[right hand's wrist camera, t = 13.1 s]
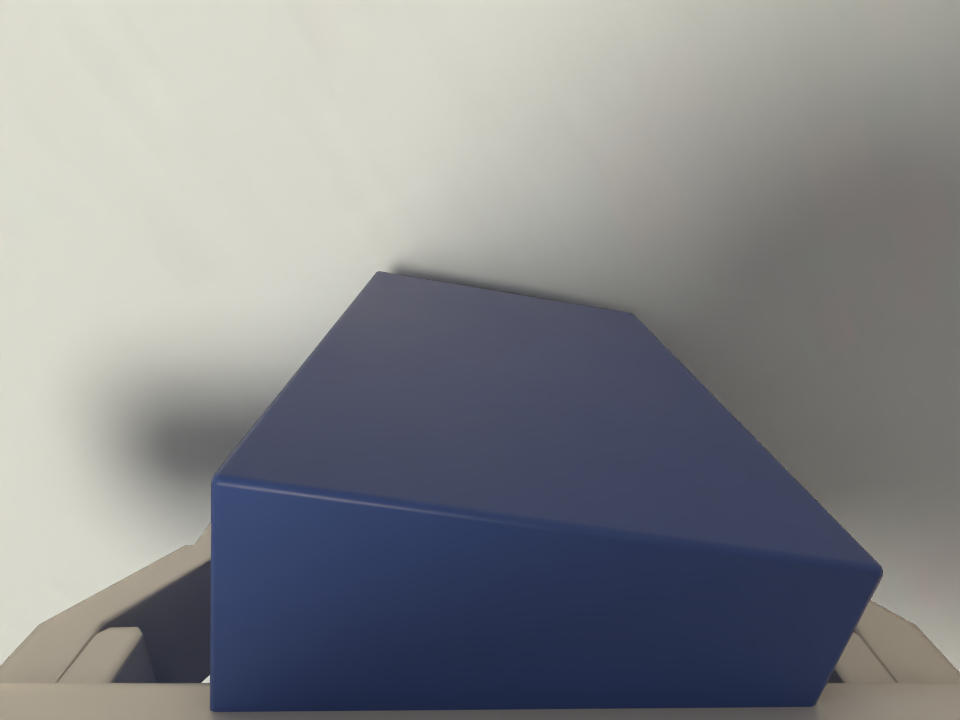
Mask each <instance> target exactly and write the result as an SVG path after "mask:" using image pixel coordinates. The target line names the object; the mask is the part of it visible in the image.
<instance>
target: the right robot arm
mask: <svg viewBox="0 0 960 720" xmlns="http://www.w3.org/2000/svg"><path fill="white" fill-rule="evenodd" d="M210 615H211V523H210V524H209V525H208V527H207V528H206V530H205V531H204V532H203V534H202V535H201V536H200V538H199V539H198V540H197V542H196V543H195V545H185V546H183V547H181V548H180V549H178V550H176V551H174V552H172V553H170V554H169V555H167V556H165V557H163V558H161V559H159V560H157V561H156V562H154V563H152V564H150V565H148V566H146V567H145V568H143V569H141V570H139V571H137V572H135V573H133V574H132V575H130V576H128V577H126V578H124V579H122V580H121V581H119V582H117V583H115V584H113V585H111V586H109V587H108V588H106V589H104V590H102V591H100V592H98V593H97V594H95V595H93V596H91V597H89V598H87V599H85V600H84V601H82V602H80V603H78V604H76V605H74V606H73V607H71V608H69V609H67V610H65V611H63V612H62V613H60V614H58V615H56V616H54V617H52V618H50V619H49V620H47V621H45V622H43V623H41V624H39V625H38V626H37V627H36V628H35V629H34V631H33V632H32V633H31V634H30V635H29V636H28V637H27V638H26V639H25V640H24V641H23V642H22V643H21V644H20V646H19V647H18V648H17V649H16V650H15V651H14V652H13V653H12V654H11V655H10V656H9V657H8V658H7V659H6V661H5V662H4V663H3V664H2V665H1V666H0V720H960V673H959V672H958V670H957V669H956V668H955V667H954V666H953V665H952V664H951V663H950V662H949V661H948V660H947V658H946V657H945V656H944V655H943V654H942V653H941V652H940V651H939V650H938V649H937V648H936V646H935V645H934V644H933V643H932V642H931V641H930V640H929V639H928V638H927V637H926V635H925V634H924V633H923V632H922V631H921V630H920V629H919V628H918V627H917V626H916V625H914V624H913V623H911V622H909V621H907V620H905V619H903V618H902V617H900V616H898V615H896V614H894V613H892V612H891V611H889V610H887V609H885V608H883V607H882V606H880V605H878V604H876V603H874V602H872V601H871V600H870V601H869V603H868V605H867V607H866V609H865V611H864V613H863V615H862V617H861V618H860V620H859V622H858V624H857V626H856V628H855V630H854V632H853V634H852V636H851V638H850V640H849V642H848V643H847V645H846V647H845V649H844V651H843V653H842V655H841V657H840V659H839V661H838V663H837V665H836V667H835V668H834V670H833V672H832V674H831V676H830V678H829V680H828V682H827V684H826V686H825V688H824V690H823V691H822V693H821V695H820V697H819V699H818V701H817V703H816V705H814V706H812V707H743V708H627V709H511V710H395V711H279V712H213V711H211V710H210V683H201V682H202V681H203V680H204V679H206V678H207V677H208V676H209V675H210Z"/></svg>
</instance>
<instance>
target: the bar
mask: <svg viewBox="0 0 960 720" xmlns="http://www.w3.org/2000/svg"><path fill="white" fill-rule="evenodd" d="M882 576H883V570H882V567H881V566H880V565H879V564H878V563H877V562H876V561H875V560H874V559H873V558H872V557H871V556H870V555H869V554H868V553H867V551H866V550H865V549H864V548H863V547H862V546H861V545H860V544H859V543H858V542H857V541H856V540H855V539H854V538H853V537H852V536H851V535H850V534H849V533H848V532H847V531H846V530H845V529H844V528H843V527H842V526H841V525H840V524H839V523H838V522H837V521H836V520H835V519H834V518H833V517H832V516H831V515H830V514H829V513H828V512H827V511H826V510H825V509H824V508H823V507H822V506H821V505H820V504H819V503H818V502H817V501H816V500H815V499H814V498H813V497H812V496H811V495H810V493H809V492H808V491H807V490H806V489H805V488H804V487H803V486H802V485H801V484H800V483H799V482H798V481H797V480H796V479H795V478H794V477H793V476H792V475H791V474H790V473H789V472H788V471H787V470H786V469H785V468H784V467H783V466H782V465H781V464H780V463H779V462H778V461H777V460H776V459H775V458H774V457H773V456H772V455H771V454H770V453H769V452H768V451H767V450H766V449H765V448H764V447H763V446H762V445H761V444H760V443H759V442H758V441H757V440H756V439H755V438H754V437H753V435H752V434H751V433H750V432H749V431H748V430H747V429H746V428H745V427H744V426H743V425H742V424H741V423H740V422H739V421H738V420H737V419H736V418H735V417H734V416H733V415H732V414H731V413H730V412H729V411H728V410H727V409H726V408H725V407H724V406H723V405H722V404H721V403H720V402H719V401H718V400H717V399H716V398H715V397H714V396H713V395H712V394H711V393H710V392H709V391H708V390H707V389H706V388H705V387H704V386H703V385H702V384H701V383H700V382H699V381H698V380H697V379H696V378H695V376H694V375H693V374H692V373H691V372H690V371H689V370H688V369H687V368H686V367H685V366H684V365H683V364H682V363H681V362H680V361H679V360H678V359H677V358H676V357H675V356H674V355H673V354H672V353H671V352H670V351H669V350H668V349H667V348H666V347H665V346H664V345H663V344H662V343H661V342H660V341H659V340H658V339H657V338H656V337H655V336H654V335H653V334H652V333H651V332H650V331H649V330H648V329H647V328H646V327H645V326H644V325H643V324H642V323H641V322H640V321H639V320H638V318H637V317H636V316H635V315H634V314H632V313H627V312H621V311H615V310H609V309H603V308H597V307H591V306H585V305H579V304H573V303H567V302H561V301H555V300H549V299H543V298H537V297H531V296H525V295H519V294H513V293H507V292H501V291H494V290H488V289H482V288H476V287H470V286H464V285H458V284H452V283H446V282H440V281H434V280H428V279H422V278H416V277H410V276H404V275H398V274H392V273H386V272H380V271H379V272H376V274H375V275H374V276H373V277H372V279H371V280H370V281H369V282H368V284H367V285H366V286H365V287H364V289H363V290H362V291H361V292H360V294H359V295H358V296H357V297H356V299H355V300H354V301H353V302H352V304H351V305H350V306H349V307H348V309H347V310H346V311H345V312H344V314H343V315H342V316H341V317H340V319H339V320H338V321H337V322H336V324H335V325H334V326H333V327H332V328H331V330H330V331H329V332H328V333H327V335H326V336H325V337H324V338H323V340H322V341H321V342H320V343H319V345H318V346H317V347H316V348H315V350H314V351H313V352H312V353H311V355H310V356H309V357H308V358H307V360H306V361H305V362H304V363H303V365H302V366H301V367H300V368H299V370H298V371H297V372H296V373H295V375H294V376H293V377H292V378H291V380H290V381H289V382H288V383H287V385H286V386H285V387H284V388H283V390H282V391H281V392H280V393H279V394H278V396H277V397H276V398H275V399H274V401H273V402H272V403H271V404H270V406H269V407H268V408H267V409H266V411H265V412H264V413H263V414H262V416H261V417H260V418H259V419H258V421H257V422H256V423H255V424H254V426H253V427H252V428H251V429H250V431H249V432H248V433H247V434H246V436H245V437H244V438H243V439H242V441H241V442H240V443H239V444H238V446H237V447H236V448H235V449H234V451H233V452H232V453H231V454H230V455H229V457H228V458H227V459H226V460H225V462H224V463H223V464H222V465H221V467H220V468H219V469H218V470H217V472H216V473H215V474H214V476H213V478H212V480H211V615H210V710H211V711H213V712H279V711H395V710H511V709H627V708H743V707H812V706H814V705H816V703H817V701H818V699H819V697H820V695H821V693H822V691H823V690H824V688H825V686H826V684H827V682H828V680H829V678H830V676H831V674H832V672H833V670H834V668H835V667H836V665H837V663H838V661H839V659H840V657H841V655H842V653H843V651H844V649H845V647H846V645H847V643H848V642H849V640H850V638H851V636H852V634H853V632H854V630H855V628H856V626H857V624H858V622H859V620H860V618H861V617H862V615H863V613H864V611H865V609H866V607H867V605H868V603H869V601H870V599H871V597H872V595H873V594H874V592H875V590H876V588H877V586H878V584H879V582H880V580H881V578H882Z"/></svg>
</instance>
